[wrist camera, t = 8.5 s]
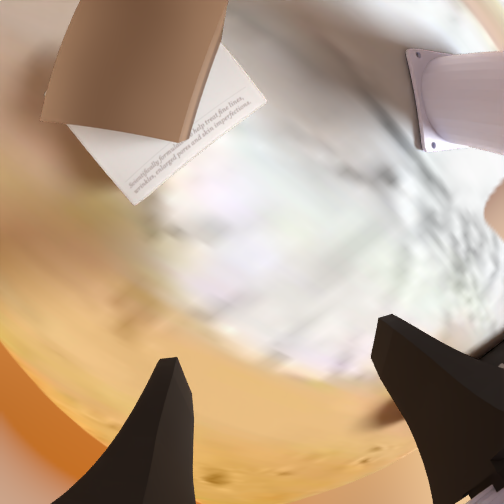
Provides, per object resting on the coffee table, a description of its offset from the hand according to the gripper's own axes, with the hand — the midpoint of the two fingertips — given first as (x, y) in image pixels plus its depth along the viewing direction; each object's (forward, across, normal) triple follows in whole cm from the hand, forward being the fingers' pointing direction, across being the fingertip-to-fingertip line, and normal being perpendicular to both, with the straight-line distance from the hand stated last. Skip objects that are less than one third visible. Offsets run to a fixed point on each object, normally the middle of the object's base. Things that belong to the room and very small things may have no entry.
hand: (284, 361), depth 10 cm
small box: (+11, +4, -10) cm, 15 cm away
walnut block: (+6, +3, -10) cm, 12 cm away
